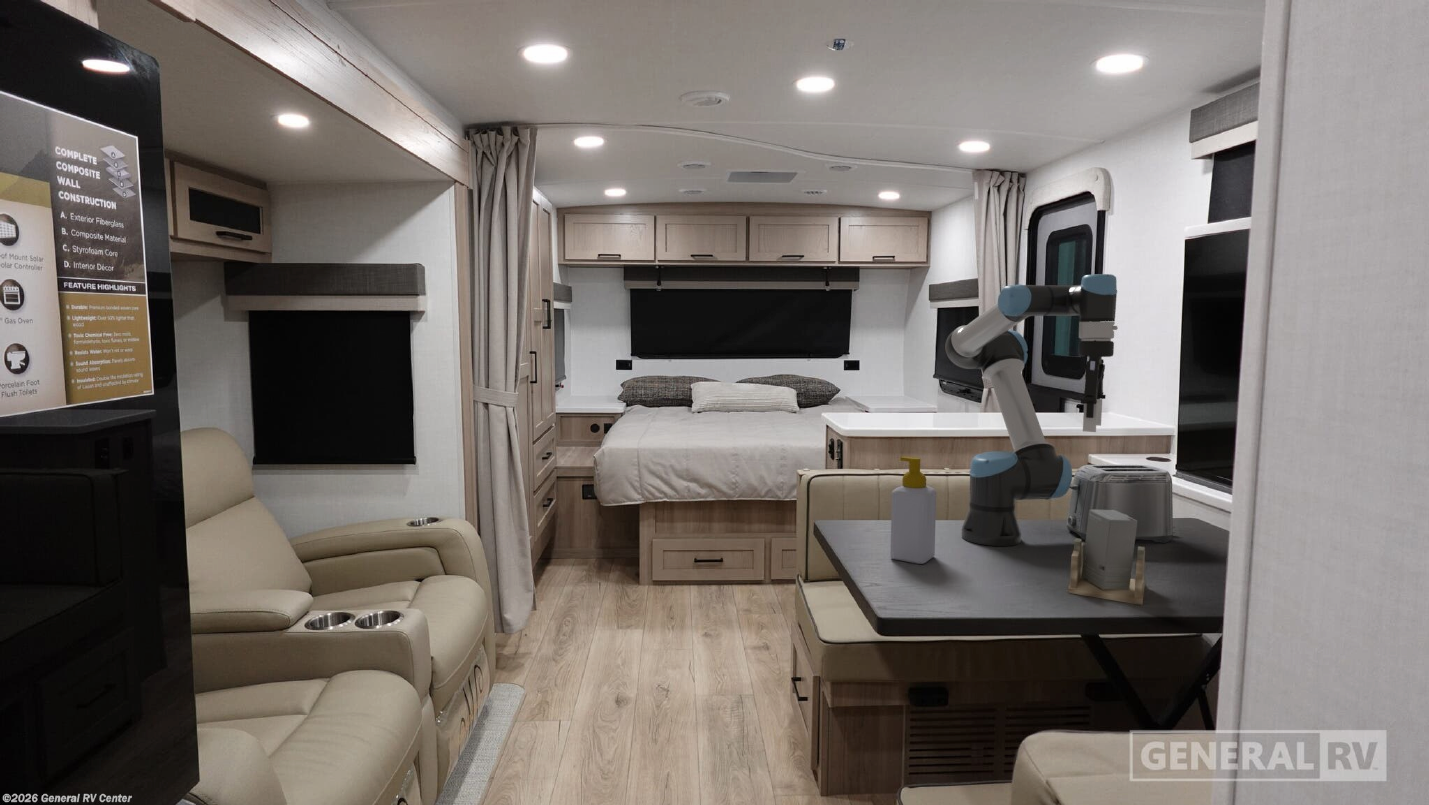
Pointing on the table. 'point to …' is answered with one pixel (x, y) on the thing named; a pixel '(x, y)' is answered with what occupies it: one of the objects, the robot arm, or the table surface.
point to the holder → (1089, 589)
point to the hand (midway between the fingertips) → (1092, 428)
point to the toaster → (1124, 498)
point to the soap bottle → (913, 517)
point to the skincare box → (1109, 549)
